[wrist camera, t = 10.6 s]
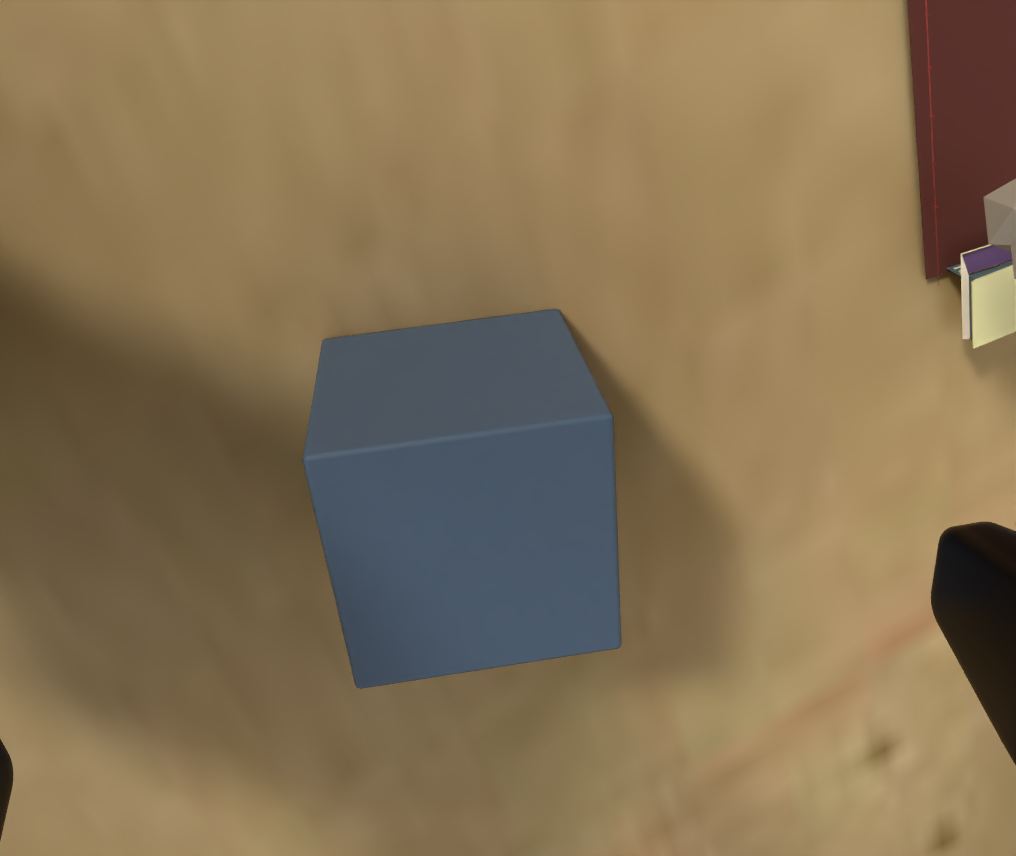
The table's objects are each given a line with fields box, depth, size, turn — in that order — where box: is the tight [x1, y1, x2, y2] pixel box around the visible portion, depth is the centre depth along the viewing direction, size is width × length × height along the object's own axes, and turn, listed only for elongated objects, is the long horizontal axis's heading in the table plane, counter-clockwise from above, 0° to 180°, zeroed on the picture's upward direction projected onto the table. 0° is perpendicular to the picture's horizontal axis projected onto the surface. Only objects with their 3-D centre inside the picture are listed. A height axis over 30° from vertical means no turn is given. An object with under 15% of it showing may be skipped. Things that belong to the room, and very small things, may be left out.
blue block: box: [303, 309, 621, 689], centre depth 17 cm, size 5×5×5 cm
